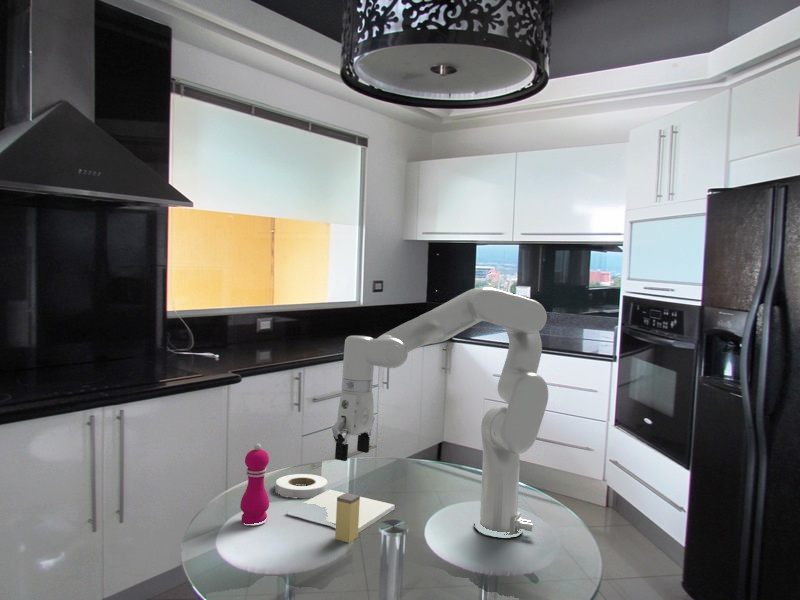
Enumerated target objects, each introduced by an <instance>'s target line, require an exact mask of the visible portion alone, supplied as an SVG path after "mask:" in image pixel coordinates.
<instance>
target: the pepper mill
mask: <svg viewBox="0 0 800 600" xmlns="http://www.w3.org/2000/svg"><path fill="white" fill-rule="evenodd" d="M253 448H254V449H251V450H250V451H248V452H247V454H246V455H245V458H244V464H245V466H246V467H247V468H246V473H245V474H246V476H247V486H246V488H245V492H244V493H243V495H242V496H241V500H240V507H239V508H240V510H241V511H242V514H241V520H240V521H241V524H242V523H245V524H254V523H259V522H262V521H264V520H265V519H266V518H267V517H268V513H267V510H269V507H270V499H269V494H268V492H267V490H266V488H265V476H266V475H267V466H268V464H269V463H270V456H269V454H268V451H266V450H264V449H261V448H262V445H261V444H260V443H256V444H254V446H253ZM267 519H268V518H267Z"/></svg>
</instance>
